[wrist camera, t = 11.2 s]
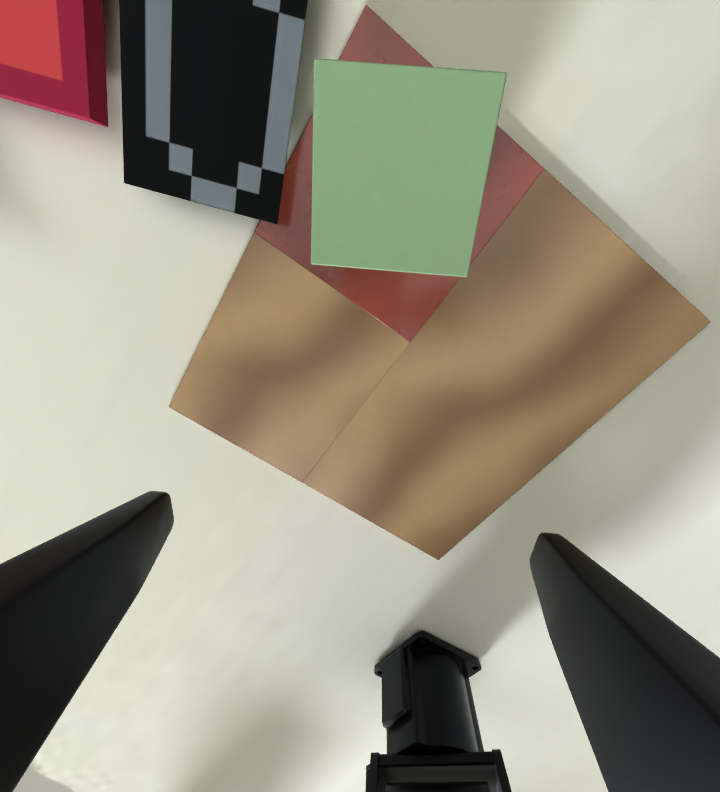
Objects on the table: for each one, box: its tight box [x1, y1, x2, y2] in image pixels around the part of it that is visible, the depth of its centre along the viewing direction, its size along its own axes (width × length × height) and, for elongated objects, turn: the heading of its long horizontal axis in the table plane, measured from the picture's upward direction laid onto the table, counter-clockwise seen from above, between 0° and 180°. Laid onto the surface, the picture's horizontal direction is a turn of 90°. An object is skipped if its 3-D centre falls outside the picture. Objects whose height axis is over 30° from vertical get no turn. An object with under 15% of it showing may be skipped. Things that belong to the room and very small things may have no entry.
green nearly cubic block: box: [311, 59, 507, 277], centre depth 12 cm, size 5×5×6 cm
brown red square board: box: [169, 5, 711, 560], centre depth 18 cm, size 20×20×1 cm
